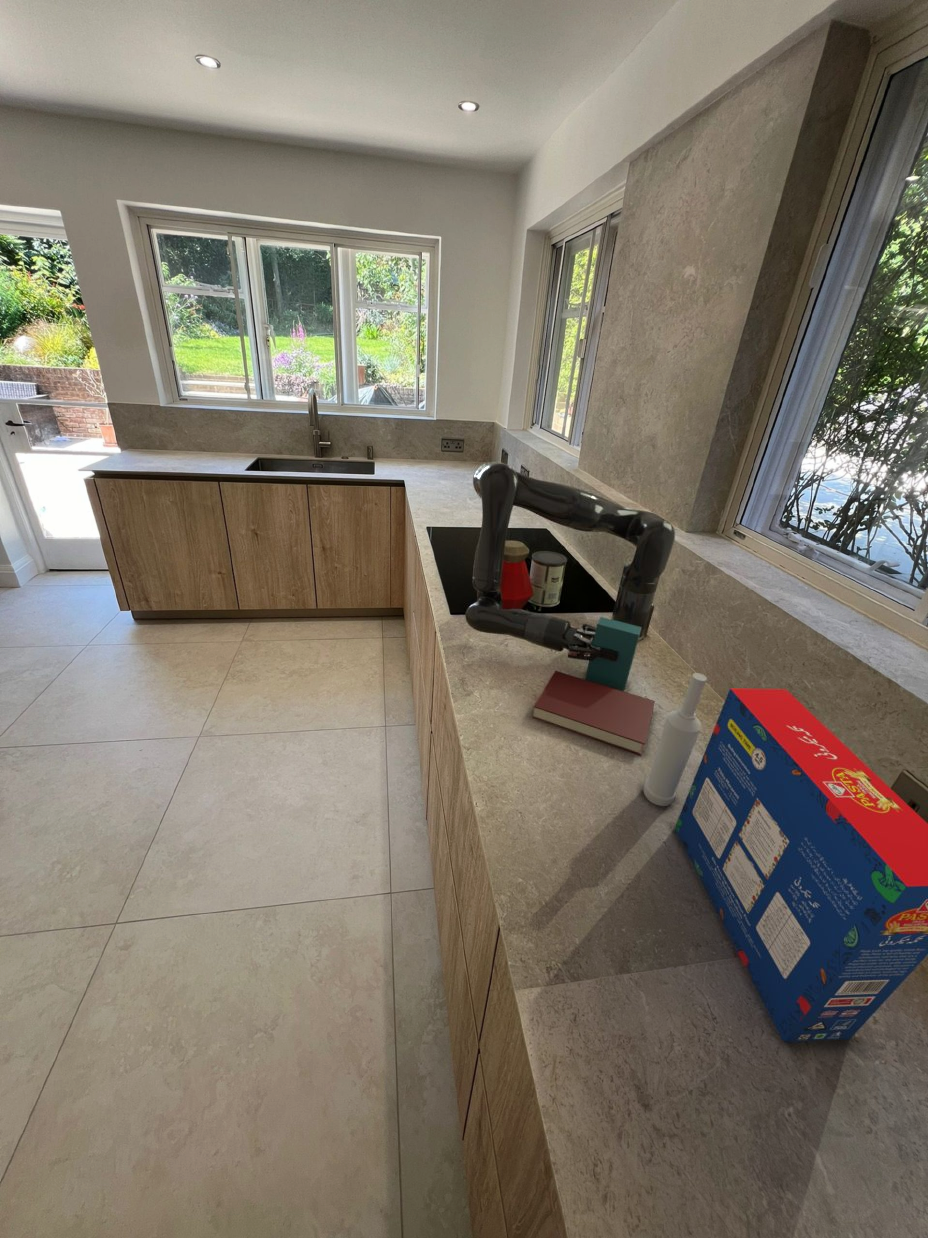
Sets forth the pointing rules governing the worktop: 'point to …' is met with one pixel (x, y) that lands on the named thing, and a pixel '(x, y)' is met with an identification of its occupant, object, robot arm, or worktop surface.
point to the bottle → (675, 746)
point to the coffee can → (547, 578)
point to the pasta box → (806, 865)
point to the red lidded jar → (515, 576)
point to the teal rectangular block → (614, 639)
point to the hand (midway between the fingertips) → (619, 651)
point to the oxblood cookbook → (595, 711)
